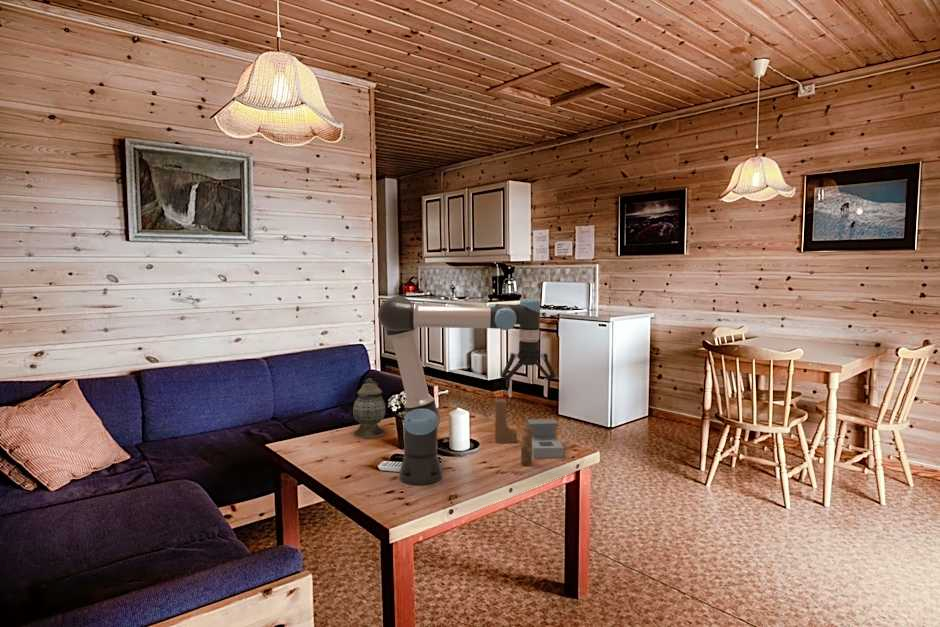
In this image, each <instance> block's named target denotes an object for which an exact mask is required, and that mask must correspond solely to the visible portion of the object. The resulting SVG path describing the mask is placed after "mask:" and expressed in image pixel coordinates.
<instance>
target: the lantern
mask: <svg viewBox="0 0 940 627" xmlns="http://www.w3.org/2000/svg"><path fill="white" fill-rule="evenodd" d="M378 384H379V383H377V382H376V381H374V380H373V379H372V378H370V377H369V378H366V380H365V381H364V382H363V384H362V386H361V388H359V390H358V391H357V392H356V394H357V396H358V397H357V398H356V399H355V401H354V404H353V407H352V412H353V413H352V415H353V417H354V419H355V421H356V422H357V423H358V424H360V426H359V427H358V428H357V429H356V430H355V431H354V432H353V436H354V437H355V438H358V439H368V440H369V439H375V438H376V439H377V438H380V437H382V436H383V435H384V434H385V431H384V429H383V428H381V427H380V426H379V424H380V423H381V421H383V419H384V417H385V415H386V405H385V401H384V399H383V396H382V394H383V390H382V389H381V388H380V387H379V386H378Z"/></svg>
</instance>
